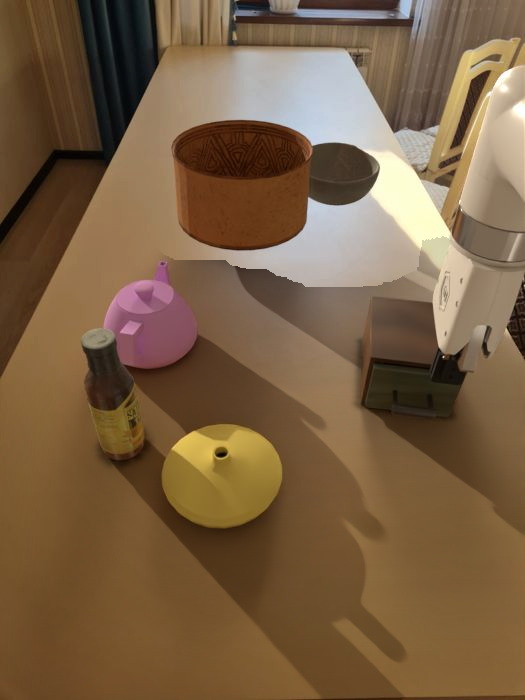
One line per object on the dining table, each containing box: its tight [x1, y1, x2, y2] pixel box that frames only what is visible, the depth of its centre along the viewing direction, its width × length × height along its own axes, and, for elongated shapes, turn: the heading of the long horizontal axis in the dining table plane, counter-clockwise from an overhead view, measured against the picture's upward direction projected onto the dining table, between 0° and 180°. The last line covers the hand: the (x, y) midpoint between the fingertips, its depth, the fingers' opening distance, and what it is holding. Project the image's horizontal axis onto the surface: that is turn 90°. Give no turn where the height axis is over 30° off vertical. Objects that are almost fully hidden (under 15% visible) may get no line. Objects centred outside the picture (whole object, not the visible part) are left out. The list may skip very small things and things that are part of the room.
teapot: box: [103, 260, 199, 370], centre depth 89 cm, size 22×16×12 cm
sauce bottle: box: [80, 327, 146, 461], centre depth 70 cm, size 6×6×20 cm
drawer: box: [364, 362, 461, 421], centre depth 82 cm, size 18×12×8 cm
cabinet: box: [360, 295, 468, 416], centre depth 85 cm, size 15×14×10 cm
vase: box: [161, 423, 283, 529], centre depth 70 cm, size 16×16×7 cm
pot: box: [170, 119, 313, 252], centre depth 113 cm, size 28×28×20 cm
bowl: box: [308, 141, 381, 207], centre depth 129 cm, size 20×20×10 cm
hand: (445, 378), depth 59 cm, fingers closed
